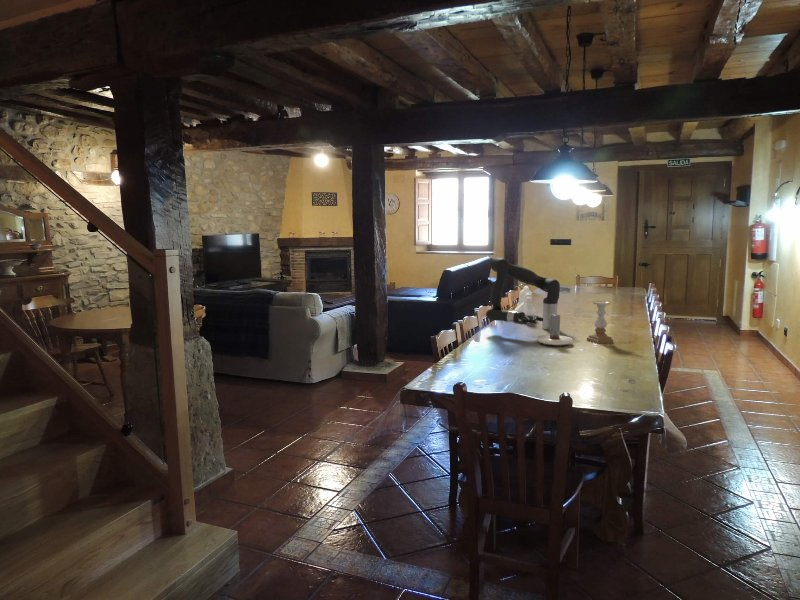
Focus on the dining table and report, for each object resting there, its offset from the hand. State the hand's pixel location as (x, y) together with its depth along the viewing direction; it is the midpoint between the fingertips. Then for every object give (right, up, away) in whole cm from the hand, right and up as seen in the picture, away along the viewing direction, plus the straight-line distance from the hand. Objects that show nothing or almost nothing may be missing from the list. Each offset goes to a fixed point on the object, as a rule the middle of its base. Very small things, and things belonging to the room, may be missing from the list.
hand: (539, 320), depth 335 cm
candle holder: (+36, -13, -1) cm, 38 cm away
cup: (+7, -10, -6) cm, 14 cm away
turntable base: (+8, -13, -5) cm, 16 cm away
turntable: (+8, -12, -6) cm, 15 cm away
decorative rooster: (+6, -3, +66) cm, 66 cm away
